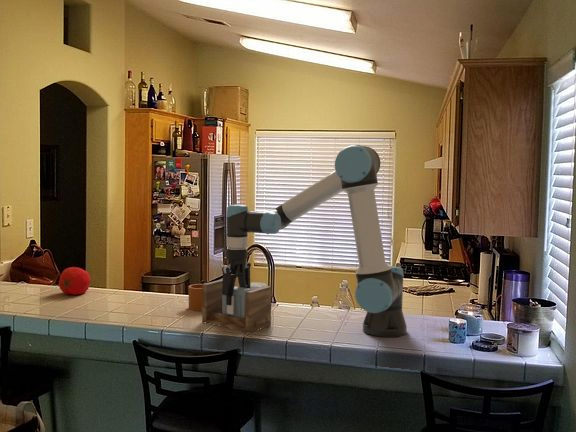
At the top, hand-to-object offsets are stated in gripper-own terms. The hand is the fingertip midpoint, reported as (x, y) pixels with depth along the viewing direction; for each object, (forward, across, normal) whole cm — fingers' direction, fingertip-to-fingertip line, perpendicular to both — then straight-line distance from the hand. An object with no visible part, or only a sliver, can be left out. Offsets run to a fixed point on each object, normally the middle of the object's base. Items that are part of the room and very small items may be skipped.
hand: (236, 311), depth 211 cm
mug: (+5, -9, -24) cm, 26 cm away
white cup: (+5, -21, -7) cm, 23 cm away
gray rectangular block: (+3, 0, 0) cm, 3 cm away
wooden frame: (+4, 0, 0) cm, 4 cm away
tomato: (+5, +6, -85) cm, 85 cm away
